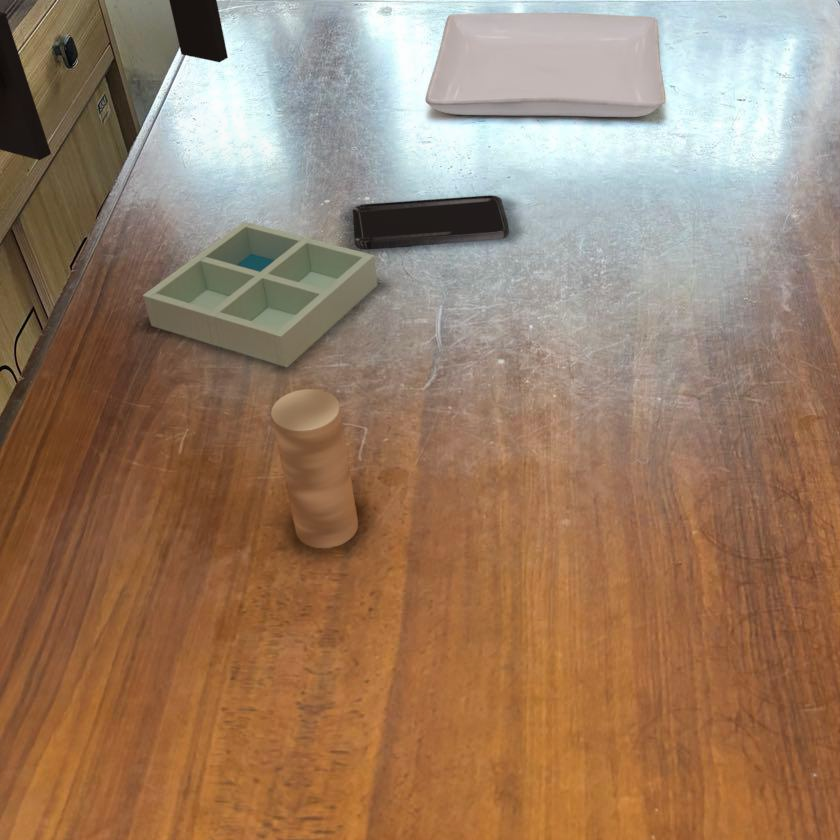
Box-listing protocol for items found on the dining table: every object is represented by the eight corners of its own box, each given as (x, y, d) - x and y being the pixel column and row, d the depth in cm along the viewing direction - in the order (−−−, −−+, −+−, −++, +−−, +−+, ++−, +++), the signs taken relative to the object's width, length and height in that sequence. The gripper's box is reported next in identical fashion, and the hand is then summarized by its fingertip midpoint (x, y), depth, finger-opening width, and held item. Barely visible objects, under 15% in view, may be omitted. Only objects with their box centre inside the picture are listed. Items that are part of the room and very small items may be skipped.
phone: (352, 205, 111) (500, 194, 113) (353, 215, 112) (500, 204, 113) (354, 244, 105) (510, 232, 107) (356, 254, 106) (510, 242, 108)
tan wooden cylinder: (284, 541, 78) (257, 418, 70) (319, 504, 81) (296, 381, 73) (337, 561, 77) (314, 437, 69) (370, 522, 80) (352, 399, 72)
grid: (152, 330, 97) (142, 295, 95) (250, 255, 106) (243, 220, 104) (288, 372, 93) (281, 336, 90) (378, 290, 102) (374, 255, 99)
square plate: (449, 40, 146) (447, 10, 143) (655, 44, 145) (658, 13, 143) (425, 128, 127) (423, 94, 124) (664, 132, 126) (667, 99, 123)
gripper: (-250, -415, 34) (-8, 219, 49) (249, -452, 50) (317, 33, 65) (-400, -421, 36) (-127, 184, 51) (121, -455, 52) (215, 14, 67)
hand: (121, 101), depth 58 cm, fingers open, 13 cm apart
